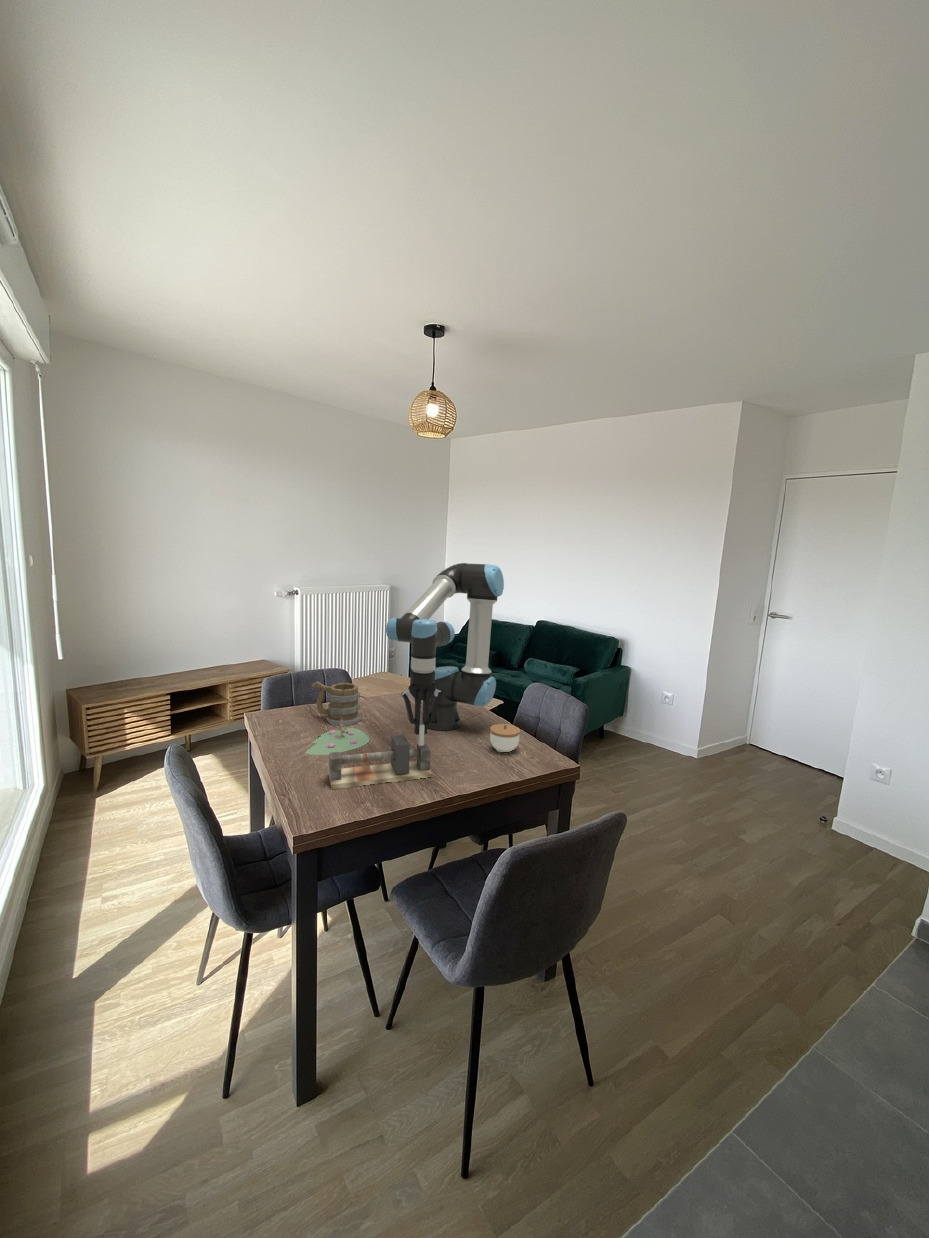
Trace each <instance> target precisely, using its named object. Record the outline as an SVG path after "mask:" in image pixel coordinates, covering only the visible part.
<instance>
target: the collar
mask: <svg viewBox="0 0 929 1238" xmlns="http://www.w3.org/2000/svg"><path fill="white" fill-rule="evenodd" d="M390 738H391V739H390V740H391V741H390V744H391V745H390V751H395V759H390V763H391V765H392V767H393V769H394V771H395V773H396V774H405V773H409V762H410V761H411V760H410V759H411V757H410V749H411V743H410V742H409V740H408V738H407V737H406V736H405V734H397V735H395V734H394V735H391V737H390Z"/></svg>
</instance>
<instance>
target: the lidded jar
mask: <svg viewBox="0 0 929 1238" xmlns="http://www.w3.org/2000/svg"><path fill="white" fill-rule="evenodd" d="M520 735H521V729H520V728H519V727H517V726H515V725H514V724H508V723H497V724H496V723H495V724H493V725H491V726H490V727H489V740H490V743H491V745H492V747H493V748H494V749H496V750H498V751H500V752H510V751H512V750H513V751H514V750H515V749H516V748H517V747H518V745H519V742H520ZM496 750H495V751H496ZM498 751H497V752H498ZM513 751H512V752H513ZM500 752H499V753H500ZM510 753H511V752H510Z"/></svg>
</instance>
